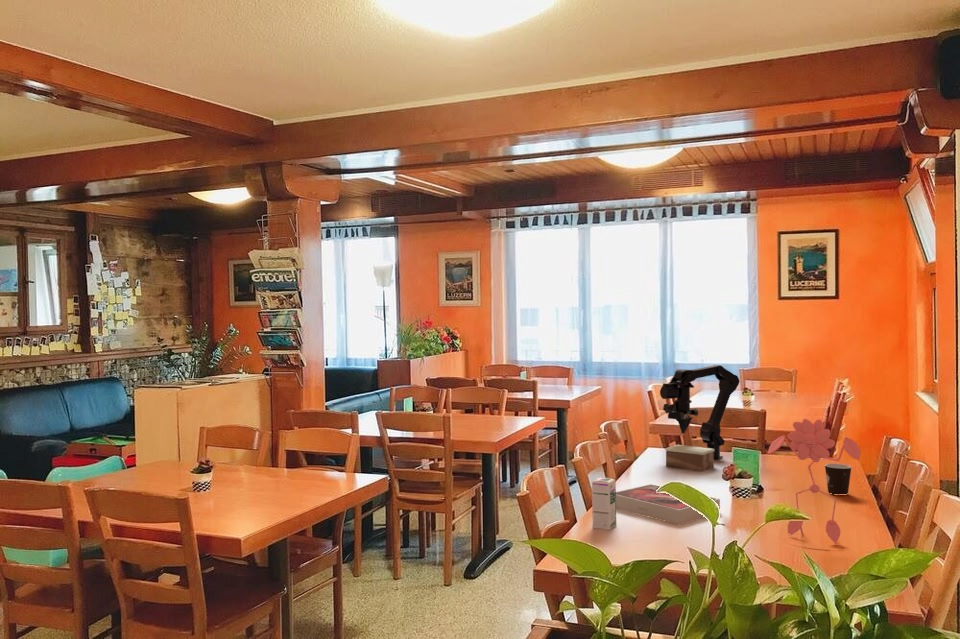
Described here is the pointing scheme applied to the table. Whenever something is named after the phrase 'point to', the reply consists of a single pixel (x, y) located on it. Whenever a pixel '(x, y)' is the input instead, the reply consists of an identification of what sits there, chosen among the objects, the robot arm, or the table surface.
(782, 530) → the table surface
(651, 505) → the product packaging
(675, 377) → the robot arm
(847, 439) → the pink flower figurine
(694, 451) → the lid
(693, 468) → the walnut box
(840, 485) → the coffee mug
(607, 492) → the syrup box
